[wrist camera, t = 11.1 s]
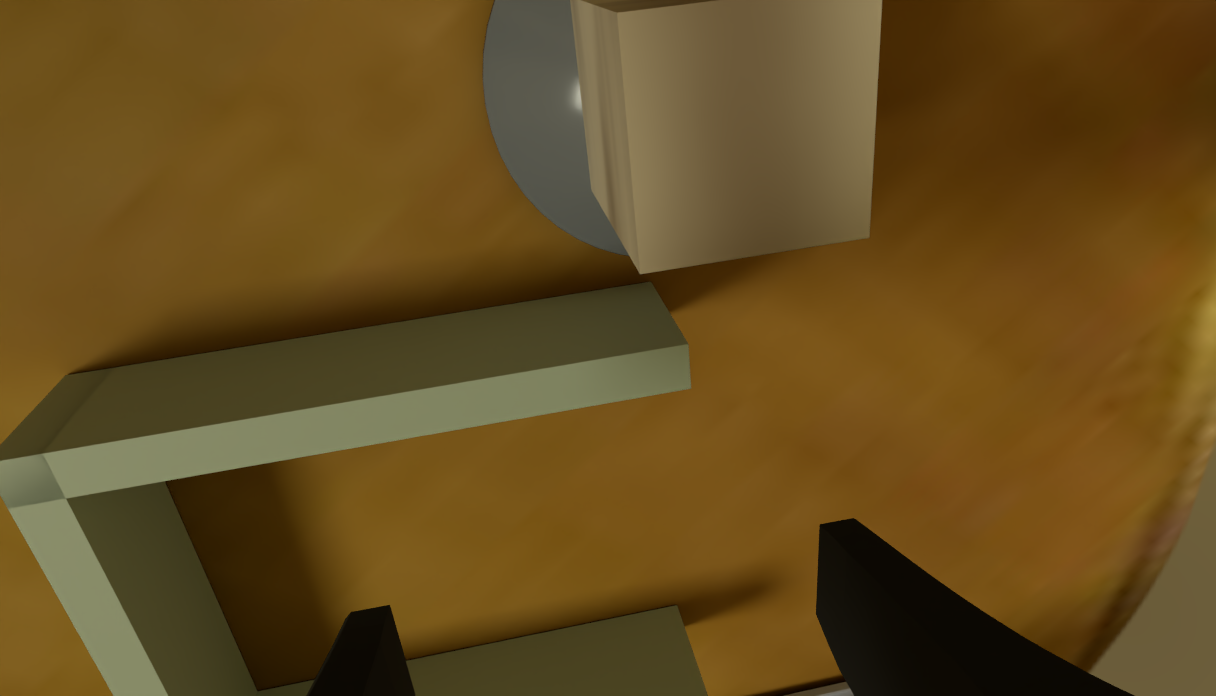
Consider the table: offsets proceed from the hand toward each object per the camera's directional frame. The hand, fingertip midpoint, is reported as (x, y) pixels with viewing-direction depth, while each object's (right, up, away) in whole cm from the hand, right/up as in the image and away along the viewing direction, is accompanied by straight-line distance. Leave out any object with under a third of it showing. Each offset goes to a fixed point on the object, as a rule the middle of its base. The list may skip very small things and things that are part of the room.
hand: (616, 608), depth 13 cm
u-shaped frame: (-6, -1, +11) cm, 13 cm away
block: (+1, +11, +6) cm, 12 cm away
